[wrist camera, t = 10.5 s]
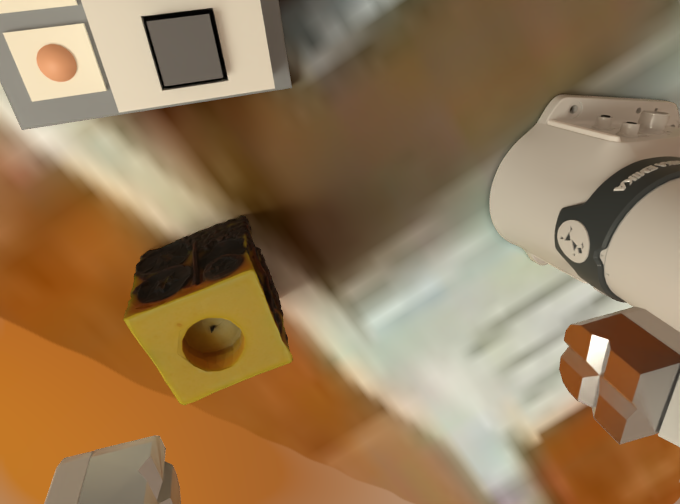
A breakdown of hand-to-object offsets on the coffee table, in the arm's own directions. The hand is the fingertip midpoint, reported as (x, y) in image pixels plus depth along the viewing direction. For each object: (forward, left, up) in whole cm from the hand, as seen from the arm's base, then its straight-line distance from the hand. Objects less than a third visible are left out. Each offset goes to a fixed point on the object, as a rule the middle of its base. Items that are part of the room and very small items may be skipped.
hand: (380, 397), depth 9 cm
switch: (+3, -5, -31) cm, 32 cm away
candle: (+6, +15, -33) cm, 37 cm away
